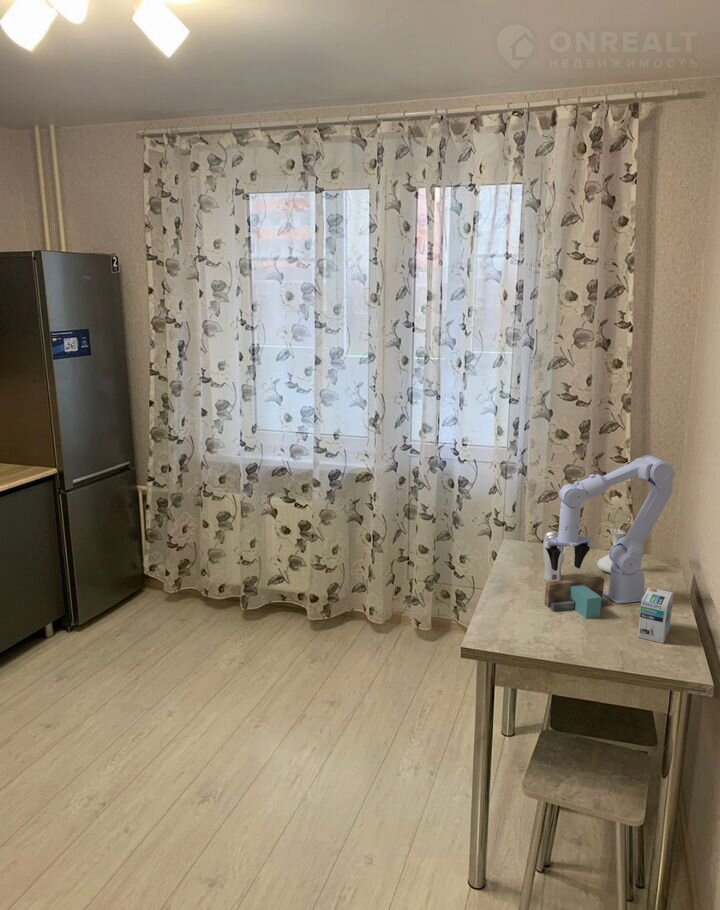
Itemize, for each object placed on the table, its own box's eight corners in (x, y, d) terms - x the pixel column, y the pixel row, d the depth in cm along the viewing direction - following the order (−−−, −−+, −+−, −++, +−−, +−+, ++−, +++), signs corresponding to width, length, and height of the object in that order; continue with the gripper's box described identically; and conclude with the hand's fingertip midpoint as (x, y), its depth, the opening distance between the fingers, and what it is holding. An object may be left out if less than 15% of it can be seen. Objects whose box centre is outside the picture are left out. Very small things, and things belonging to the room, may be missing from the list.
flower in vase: (638, 577, 223) (645, 503, 217) (603, 577, 223) (609, 503, 218) (623, 562, 236) (630, 492, 230) (590, 562, 236) (596, 492, 230)
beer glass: (565, 577, 223) (569, 533, 219) (559, 584, 217) (562, 539, 214) (544, 572, 226) (547, 529, 223) (537, 579, 221) (540, 535, 217)
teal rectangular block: (582, 603, 204) (583, 584, 202) (599, 616, 195) (601, 597, 194) (568, 605, 202) (570, 586, 201) (585, 618, 194) (587, 598, 193)
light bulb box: (663, 644, 180) (668, 606, 177) (636, 637, 183) (640, 600, 181) (670, 628, 188) (674, 591, 186) (644, 622, 192) (648, 586, 190)
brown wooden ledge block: (598, 598, 207) (600, 576, 205) (608, 605, 202) (610, 583, 201) (544, 604, 203) (546, 582, 201) (553, 611, 198) (554, 589, 196)
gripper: (553, 531, 197) (550, 575, 200) (598, 527, 200) (594, 571, 203) (541, 523, 204) (538, 566, 207) (585, 520, 207) (581, 562, 210)
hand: (565, 568), depth 205 cm, fingers open, 7 cm apart
